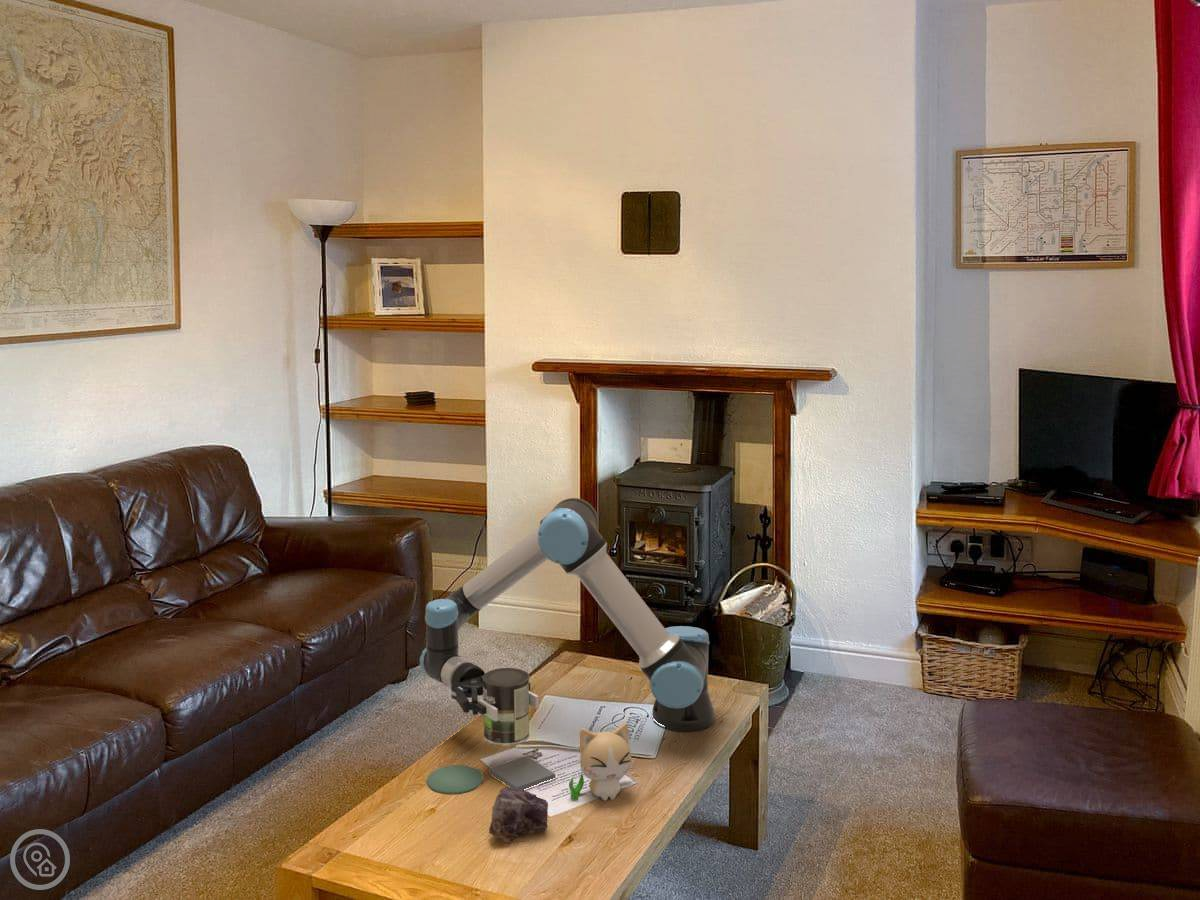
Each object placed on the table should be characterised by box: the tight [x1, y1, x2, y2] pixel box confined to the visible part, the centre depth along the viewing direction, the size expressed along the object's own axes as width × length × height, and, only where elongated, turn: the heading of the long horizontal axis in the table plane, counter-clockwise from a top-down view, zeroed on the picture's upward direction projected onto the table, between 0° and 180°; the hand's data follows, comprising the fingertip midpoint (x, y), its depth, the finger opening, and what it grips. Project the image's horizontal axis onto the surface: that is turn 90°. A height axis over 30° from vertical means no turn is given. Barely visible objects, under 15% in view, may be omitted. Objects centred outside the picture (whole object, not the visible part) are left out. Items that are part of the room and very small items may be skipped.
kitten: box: [568, 722, 633, 802], centre depth 236 cm, size 15×10×15 cm, turn 106°
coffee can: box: [482, 667, 531, 747], centre depth 247 cm, size 10×10×14 cm
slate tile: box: [488, 755, 556, 790], centre depth 245 cm, size 2×10×11 cm
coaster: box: [426, 764, 484, 795], centre depth 243 cm, size 12×12×1 cm
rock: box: [488, 787, 549, 843], centre depth 222 cm, size 12×9×10 cm
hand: (517, 708), depth 243 cm, fingers closed on coffee can, 10 cm apart
